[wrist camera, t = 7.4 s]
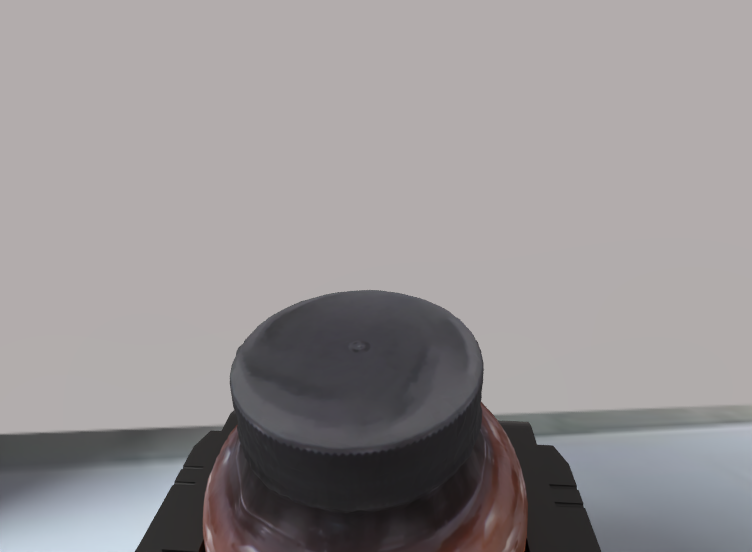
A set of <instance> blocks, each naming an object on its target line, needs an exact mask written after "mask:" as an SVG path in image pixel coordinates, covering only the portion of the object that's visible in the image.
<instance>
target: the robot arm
mask: <svg viewBox="0 0 752 552" xmlns="http://www.w3.org/2000/svg"><path fill="white" fill-rule="evenodd" d="M498 422H499V423H500V425H501V426H502V428H503V429H504V431H505V432H506V434H507V436H508V438H509V440H510V442H511V444H512V446H513V448H514V450H515V453H516V456H517V458H518V460H519V463H520V466H521V470H522V474H523V478H524V481H525V486H526V493H527V501H528V517H527V536H526V544H525V551H524V552H601V550H600V547H599V545H598V542H597V539H596V536H595V534H594V531H593V528H592V526H591V523H590V520H589V518H588V515H587V512H586V510H585V508H584V507H583V501H582V499H581V496H580V493H579V491H578V490H577V485H576V483H575V480H574V477H573V474H572V472H571V469H570V466H569V464H568V463H567V462H566V460H565V459H564V458H563V457H562V456H561V455H560V453H559V452H558V451H557V450H556V449H555V447H554V446H550V445H537V444H536V440H535V437H534V434H533V431H532V427H531V425H530V423H529V422H516V421H498ZM237 424H238V421H237V416H236V412H235V410H234V411H233V412H232V413H231V414H230V416H229V418H228V420H227V422H226V423H225V425H224V427H223V429H222V431H210V432H209V433H208V434H207V435H206V436H205V437H204V438H203V439H202V440H201V441H199V442H198V443H197V444H196V445H195V446H194V448H193V449H192V451H191V453H190V455H189V456H188V458H187V460H186V462H185V464H184V465H183V466H184V467H183V469H181V471H180V473H179V474H178V476H177V478H176V480H175V484H174V485H172V487H171V489H170V490H169V492H168V494H167V496H166V498H165V499H164V501H163V503H162V505H161V507H160V508H159V510H158V512H157V514H156V515H155V517H154V519H153V521H152V523H151V524H150V526H149V528H148V530H147V532H146V533H145V535H144V537H143V539H142V541H141V542H140V544H139V546H138V547H137V549H136V550H135V552H206V550H205V544H204V538H203V506H204V498H205V492H206V488H207V483H208V478H209V476H210V474H211V472H212V470H213V466H214V464H215V462H216V458H217V457H218V455H219V454H220V451H221V449H222V447H223V445H224V443H225V441H226V440H227V439H228V436H229V434H230V433H231V432H232V430H233V429H234V428H235V427H236V426H237Z"/></svg>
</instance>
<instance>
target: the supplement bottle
mask: <svg viewBox="0 0 752 552" xmlns="http://www.w3.org/2000/svg"><path fill="white" fill-rule="evenodd" d="M482 384H483V360H482V355H481V350H480V348H479V345H478V342H477V341H476V340H475V338H474V335H473V334H472V332H471V331H470V330H469V329H468V328H467V327H466V326H465V325H464V324H463V323H462V322H461V321H460V319H458V318H456V317H455V316H454V315H453V314H451V313H450V312H449V311H447V310H446V309H444V308H442V307H440V306H438V305H435V304H433V303H431V302H428V301H426V300H423V299H420V298H417V297H413V296H408V295H405V294H400V293H394V292H386V291H377V290H362V291H348V292H338V293H332V294H327V295H323V296H319V297H316V298H312V299H309V300H305V301H301V302H299V303H297V304H294V305H292V306H290V307H288V308H286V309H284V310H282V311H280V312H278V313H276V314H274V315H273V316H271V317H269V318H268V319H267V320H266V321H264V322H263V323H261V324H260V325H259V326H258V327H257V328H256V329H255V330H254V332H253V333H252V334H250V336H249V337H248V338H247V339H246V340H245V341H244V343H243V344H242V345H241V346H240V347H239V348H238V350H237V353H236V357H235V359H234V362H233V364H232V368H231V373H230V387H231V394H232V400H233V407H234V410H235V412H236V416H237V421H238V424H237V426H236V427H235V428H234V429H233V430H232V432H231V433H230V434H229V436H228V439H227V440H226V441H225V443H224V445H223V447H222V449H221V451H220V454H219V455H218V457H217V458H216V462H215V464H214V466H213V470H212V472H211V474H210V476H209V478H208V483H207V488H206V492H205V498H204V506H203V538H204V544H205V550H206V552H524V551H525V544H526V536H527V517H528V501H527V493H526V486H525V481H524V478H523V474H522V470H521V466H520V463H519V460H518V458H517V456H516V453H515V450H514V448H513V446H512V444H511V442H510V440H509V438H508V436H507V434H506V432H505V431H504V429H503V428H502V426H501V425H500V423H499V422H498V421H497V419H496V418H495V417H494V415H493V414H492V413H491V412H490V411H489V410H488V409H487V408H486V407H485V406H484V405H483V403H482V402H481V391H482Z"/></svg>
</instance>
